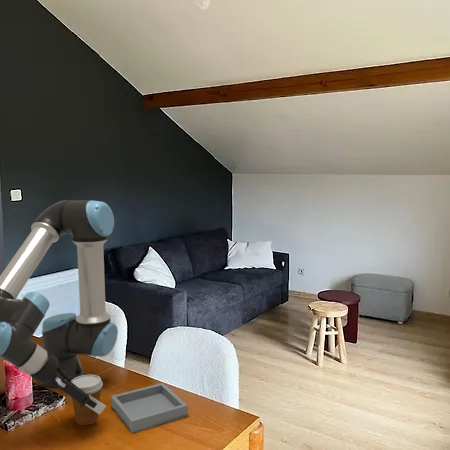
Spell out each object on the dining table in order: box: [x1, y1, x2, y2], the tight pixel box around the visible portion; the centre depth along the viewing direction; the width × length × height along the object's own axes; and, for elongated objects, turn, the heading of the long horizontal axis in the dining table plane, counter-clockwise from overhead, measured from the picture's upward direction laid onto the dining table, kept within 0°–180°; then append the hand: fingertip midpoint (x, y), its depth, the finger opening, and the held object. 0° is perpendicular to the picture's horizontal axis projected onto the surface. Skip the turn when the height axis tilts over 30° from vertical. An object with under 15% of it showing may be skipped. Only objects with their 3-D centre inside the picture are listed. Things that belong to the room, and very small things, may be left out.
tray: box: [110, 382, 189, 434], centre depth 147 cm, size 18×18×4 cm
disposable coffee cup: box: [71, 374, 103, 426], centre depth 139 cm, size 10×10×12 cm
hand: (97, 402), depth 140 cm, fingers closed on disposable coffee cup, 9 cm apart
